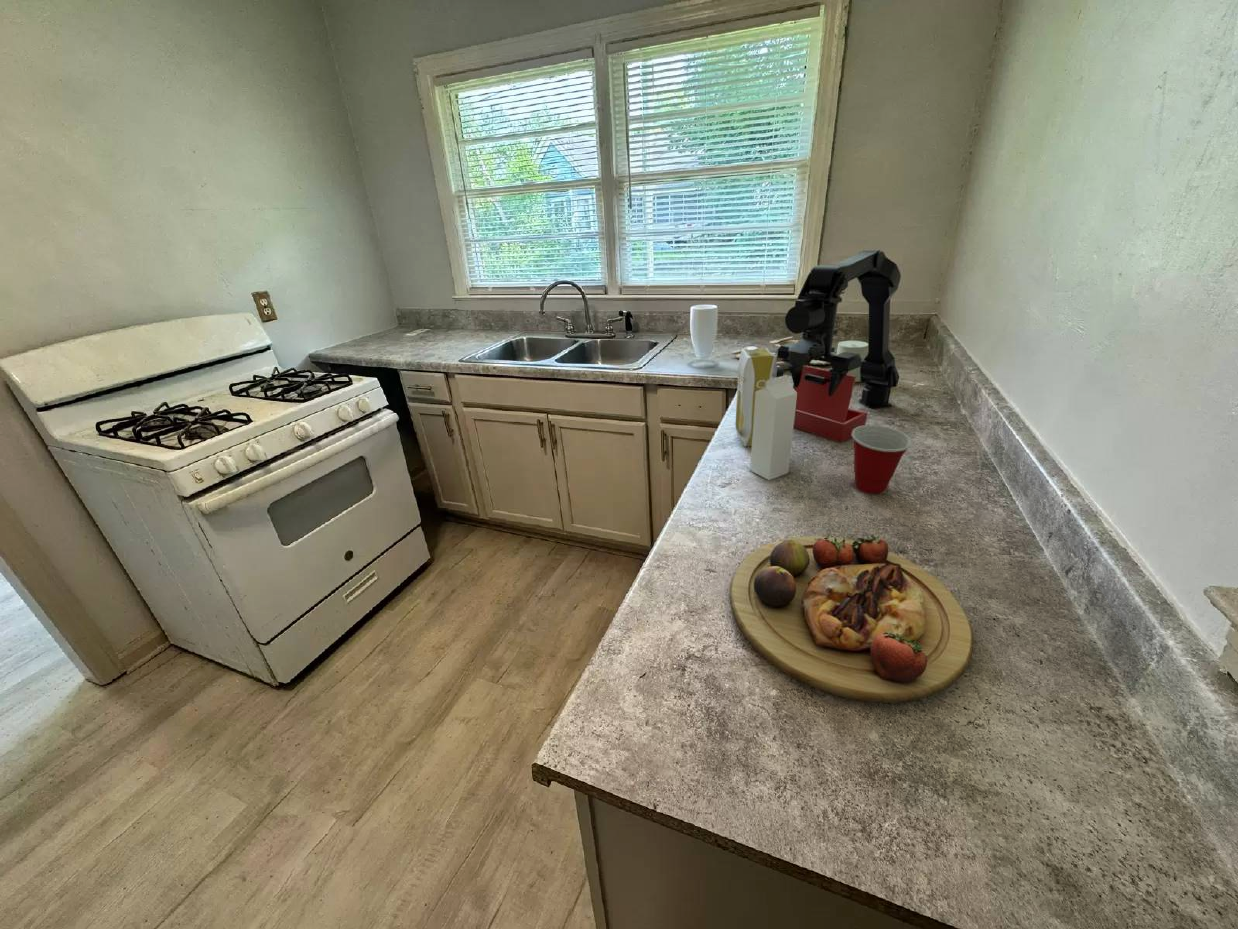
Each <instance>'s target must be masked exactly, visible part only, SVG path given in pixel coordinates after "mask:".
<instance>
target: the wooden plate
mask: <svg viewBox="0 0 1238 929" xmlns="http://www.w3.org/2000/svg"><path fill="white" fill-rule="evenodd" d="M869 536H870V538H869V537H868V538H864V537H861V538H860V537H857V538H856V539H857V540H853V539H848V538H845V537H843V538H842V537H833V536H820V535H818V536H817V535H812V536H811V535H807V536H795V537H789V538H788V537H787V538H783V539H780V540H776V541H773V542H770V543H767V544H765V545H763V546H760V547H759V548H757V549H755V550H753V551H752V552H751V553H749V554H748V555H747V556H746V557H745V558H744V559H743V560H742V561H741V562H740V564H739V565H738V566H737V567H736V569H735V571H734V573H733V576H732V577H731V581H730V586H729V604H730V608H731V613H732V615H733V618H734V621H735V623H736V625H737V627H738V628H739V630H740V631H741V634H742V635H743V636H744V638H745V640H747V642H748V643H749V644H750V645H751V646H752V647H753V649H755V650H756V651H757V652H758V653H759V654H760V655H761V656H762V657H763V658H764V659H765V660H767V661H768V662H769V663H771V664H772V665H773V666H774V667H776V668H777V669H779V671H782V672H783V673H785V674H787V675H788V676H790V677H792V678H793V679H795V680H797V681H800V682H802V683H804V684H805V685H807V686H810V687H811V688H814V689H817V690H819V691H822V692H825V693H829V694H832V695H834V696H839V697H842V698H846V699H851V700H855V701H862V702H870V703H885V704H886V703H889V704H891V703H905V702H912V701H915V700H921V699H924V698H927V697H930V696H933V695H936V694H938V693H941V692H942V691H944V690H946V689H948V688H949V687H950V686H952V685H953V684H955V683H956V682H957V681H958V679H960V677H962V676H963V674H964V673H965V671H966V669H967V668H968V666H969V664H970V662H971V658H972V654H973V650H974V635H973V630H972V625H971V623H970V621H969V619H968V615H967V614H966V612H965V611H964V609H963V607H962V606H961V604H960V603H959V601H958V600H957V599H956V597H955V596H954V595H953V594H952V592H950V591H949V589H948V588H947V587H946V586H945V585H944V584H943V583H941V582H940V580H938V579H937V578H936V577H934V576H933V575H932V574H930V573H929V572H928V571H926V570H925V569H923V568H921V567H920V566H918V565H917V564H915V563H913V562H912V561H910V560H908V559H906V558H904V557H902V556H901V555H898V554H896V553H895V552H892V551H889V545H888V543H887V541H886V540H885V539H884V538H880V536H875V535H874V533H871V534H870V535H869Z"/></svg>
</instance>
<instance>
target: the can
mask: <svg viewBox="0 0 1238 929" xmlns="http://www.w3.org/2000/svg"><path fill="white" fill-rule="evenodd" d="M844 352H849V353H854V354H859V355H860V357H861V359H862V361H863V360H864V358H865V357H866V356H867V354H868V342H865V341H860V340H842V341H838V343H837V349H836V355H838V354H841V353H844ZM860 368H861V367H858V368H856V369H854V370H852V371H849V372H848V373H847V375H851V376H856V379H855V383H857V382H859V383H860Z"/></svg>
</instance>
